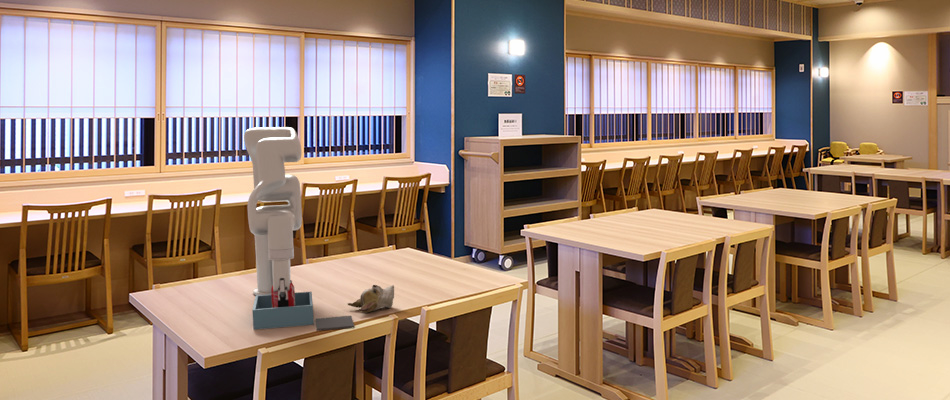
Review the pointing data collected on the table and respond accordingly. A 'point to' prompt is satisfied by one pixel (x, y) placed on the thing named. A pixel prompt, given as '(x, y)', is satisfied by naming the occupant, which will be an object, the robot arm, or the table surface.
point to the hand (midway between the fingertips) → (283, 308)
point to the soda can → (290, 295)
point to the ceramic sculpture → (375, 299)
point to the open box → (282, 312)
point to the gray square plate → (334, 323)
